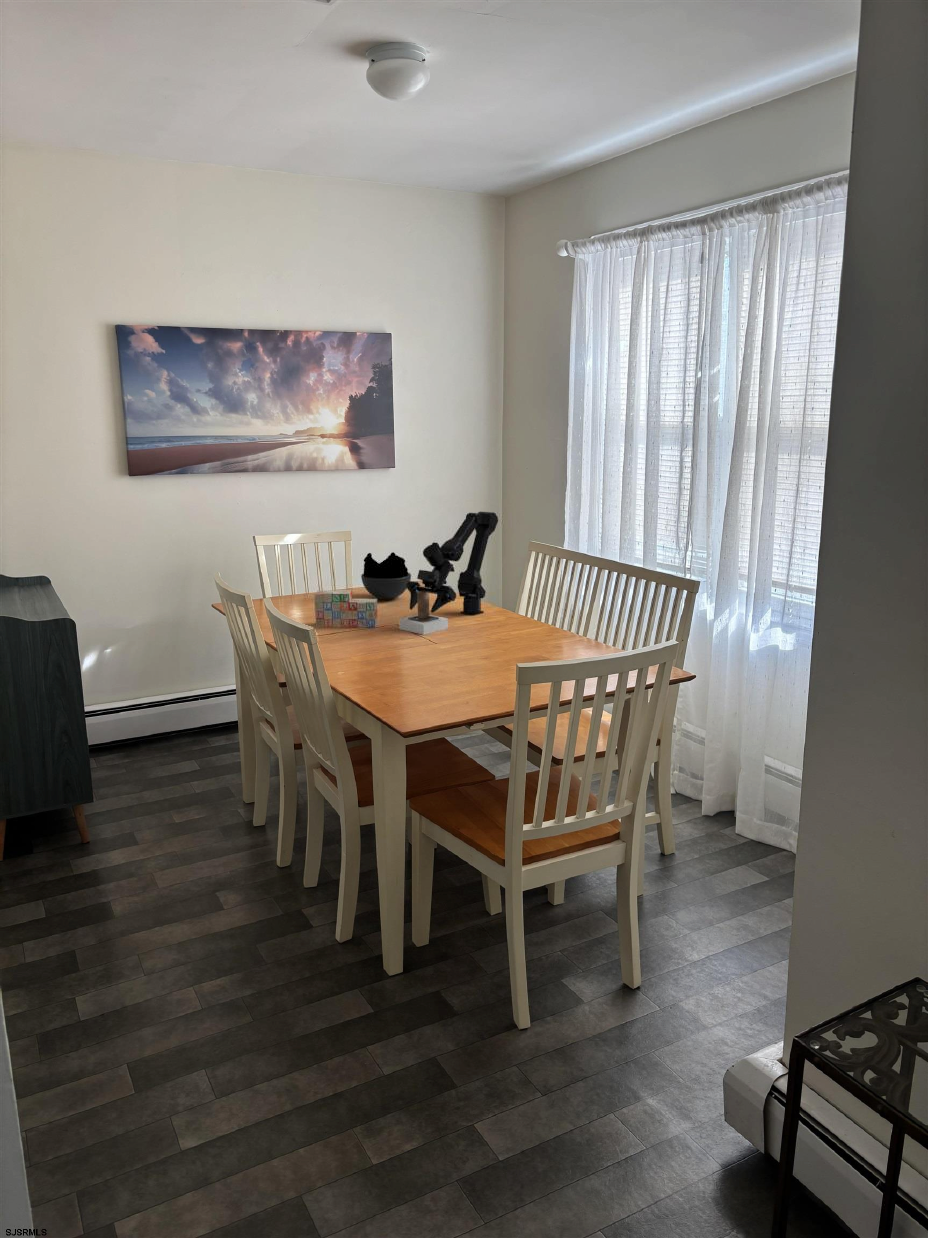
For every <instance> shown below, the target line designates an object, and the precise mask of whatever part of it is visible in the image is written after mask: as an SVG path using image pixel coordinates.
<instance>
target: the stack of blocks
mask: <svg viewBox="0 0 928 1238" xmlns="http://www.w3.org/2000/svg"><path fill="white" fill-rule="evenodd" d="M314 611H315V627H316V628H320V627H319V626H324V627H323V628H368V629H369V628H376V626H377V625H378V624H379V622H378V621H379V619H378V616H379V614H378V598H353V591H352V590H350V589H349V590H348V589H347V590H346V589H345V590H342V589H340V590H338V589H337V590H329V589H328V590H324V589H323V590H321V589H320V590H317V591H316V592H315V593H314Z"/></svg>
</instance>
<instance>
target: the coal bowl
mask: <svg viewBox="0 0 928 1238" xmlns="http://www.w3.org/2000/svg"><path fill="white" fill-rule="evenodd" d="M385 558H386V559H383V560H382V561H381V562H378V561H376V560H375V559H374V558H373V554H372V553H371V552H369V553H367V555H366V556H365V557H364V559H363V562H364V563H363V573H361V575H360V577H361V581H362V584H363V587H364V588H365V590H366V591H367V592H368V593H369V594H370V595H371V596H373V597H375V599H379V600H392V599H395V598H398V597H399V596H402V595H403V594H404V592H405V591H406V590H408V589H407V588H406V587H405V586H406V585H407V583H408V581H412V580H411V579H412V574H411V573H410V572H409V569H408V567H407V566H406V560H405V558H404V557H400V556H399V555H397V554H396V553H395V552H390V554H389V555H388V556H387V557H385Z"/></svg>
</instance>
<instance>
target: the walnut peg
mask: <svg viewBox="0 0 928 1238" xmlns="http://www.w3.org/2000/svg"><path fill="white" fill-rule="evenodd" d="M417 597H418V603H417V615H418V619H420V620H426V619H429V615H430V593H429V592H427V591H420V592H417Z"/></svg>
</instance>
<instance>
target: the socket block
mask: <svg viewBox="0 0 928 1238" xmlns="http://www.w3.org/2000/svg"><path fill="white" fill-rule="evenodd" d="M448 619H449V618H447V617H442V616H437V615H432V614H429V619H426V620H420V619H418V614H417V615H411V616H407V617H404V618H399V619H398V620H399V621H398V623H399V624H398V625H399V626H398V628H399V630H401V631H402V630H403V631H406V632H411V633H415V634H420V635H427V634H431V633H434V632H435V633H436V632H439V631H443V630H446V629H448V628H449V625H448V624H449V620H448Z"/></svg>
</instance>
